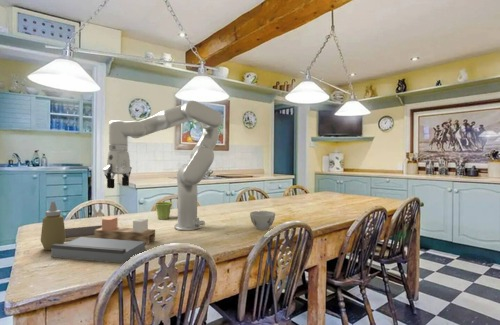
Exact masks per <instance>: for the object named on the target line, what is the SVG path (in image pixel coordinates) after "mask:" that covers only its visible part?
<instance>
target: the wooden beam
mask: <svg viewBox="0 0 500 325" xmlns="http://www.w3.org/2000/svg"><path fill="white" fill-rule="evenodd" d="M95 238H101V239H115V240H129V241H143V242H145V246H149V245H150V242H155V241H156V229H149V228H148V230H146V231H144V232H142V233H141V232H133V227H118V228H116V229H113V230H111V231H110V230H102V228H99V229H96V230H95Z"/></svg>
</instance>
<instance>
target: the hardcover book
mask: <svg viewBox="0 0 500 325" xmlns="http://www.w3.org/2000/svg"><path fill="white" fill-rule="evenodd" d="M99 228H102V224H100V225H91V226H82V227H81V226H79V227H69V228H65V234H66V238H65V241H64V242H69V241H72V240H75V239H77V238H80V237H88V238H95V230H96V229H99Z"/></svg>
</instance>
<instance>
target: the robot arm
mask: <svg viewBox="0 0 500 325" xmlns="http://www.w3.org/2000/svg"><path fill="white" fill-rule="evenodd" d="M192 120H195V121H197V122H199V123H200V125H201V128H202V134H201V137H200V138H199V139H198V141H197V143H196V144H195V146H194V147H193V149H192V150H191V151H190V154H189V158H190V161H189V162H188V163H186V164H182V165H181V166H179V168H178V170H177V171H176V181H177V223H176V224H175V225H174V229H175V230H178V231H194V230H198V229H200V227H201V226H205V225H206V223H205V220H200V217H198V184H199V183H200V182H202V180H203V179H204V176H206V174H207V172H208V170H209V169H210V167H211V166H212V164H213V163H214V161H215V160H214V159H215V152H214V151H213V150H214V149H215V146H216V145H217V143H218V141H219V137H220V135H219V134H220V132H219V127H220V126H221V125H222V124H223V121H224V119H223V115H222V113H221V112H219V111H218V110H217V109H214V108H212V107H209V106H208V105H205V104H204V103H201V102H198V101H196V100H189V101H186V102H185V103H182V104H180V105H177V106H174V107H171V108H170V107H169V108H168V109H164V110H162V111H159V112H158V113H156V114H154V115H152V116H150V117H147V118H144V119H141V120H132V121H130V120H129V121H127V120H126V121H124V120H110V121H109V123H108V154H107V162H106V163H107V164H106V166H105V167H104V168H103V173H104V176H105V179H106V188H107V189H115V176H116V175H121V176H122V177H121V185H122V186H123V187H129V185H130V176H131V173H132V172H131V171H132V167H133V166H132V167H131V160H130V154H129V151H128V148H129V146H128V138H129V137H130V138H132V139H139V138H142V137H145V136H149V135H150V134H153V133H156V132H159V131H164V130H168V129H170V128H172V127H176V126H177V125H181V124H183V123H186V122H189V121H192Z"/></svg>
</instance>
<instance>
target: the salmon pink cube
mask: <svg viewBox="0 0 500 325" xmlns="http://www.w3.org/2000/svg"><path fill="white" fill-rule="evenodd" d="M118 220H119V219H118V217H114V216H108V217H105V218H102V219H101V225H102V230H110V231H111V230H113V229H116V228H118Z"/></svg>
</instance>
